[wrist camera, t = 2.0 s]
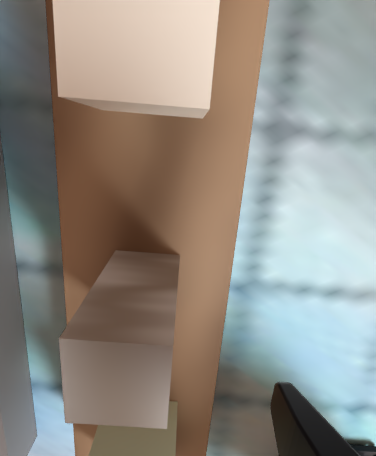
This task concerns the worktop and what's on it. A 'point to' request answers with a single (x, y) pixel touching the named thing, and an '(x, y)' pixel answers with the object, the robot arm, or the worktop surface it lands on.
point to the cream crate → (137, 54)
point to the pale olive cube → (137, 439)
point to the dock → (12, 345)
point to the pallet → (152, 244)
